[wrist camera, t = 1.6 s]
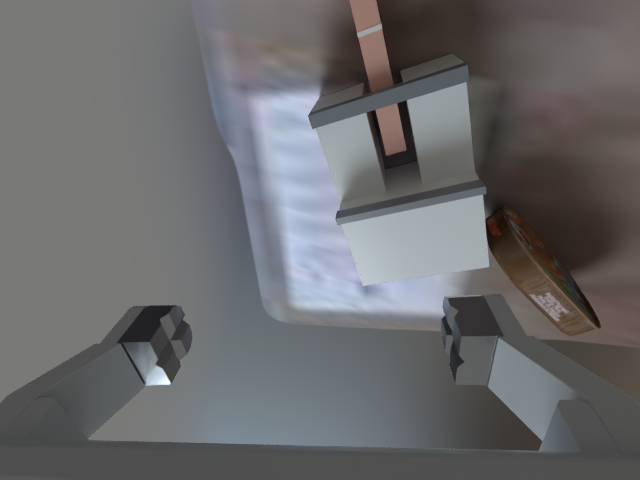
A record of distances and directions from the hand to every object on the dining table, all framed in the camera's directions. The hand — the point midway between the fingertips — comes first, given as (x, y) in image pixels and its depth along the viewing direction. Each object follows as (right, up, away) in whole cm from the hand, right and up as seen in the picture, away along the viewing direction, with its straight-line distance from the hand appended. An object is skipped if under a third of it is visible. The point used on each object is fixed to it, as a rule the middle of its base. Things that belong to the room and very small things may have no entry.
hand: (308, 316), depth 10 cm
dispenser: (+8, +9, +21) cm, 25 cm away
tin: (+22, +2, +25) cm, 33 cm away
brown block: (+5, +17, +17) cm, 24 cm away
